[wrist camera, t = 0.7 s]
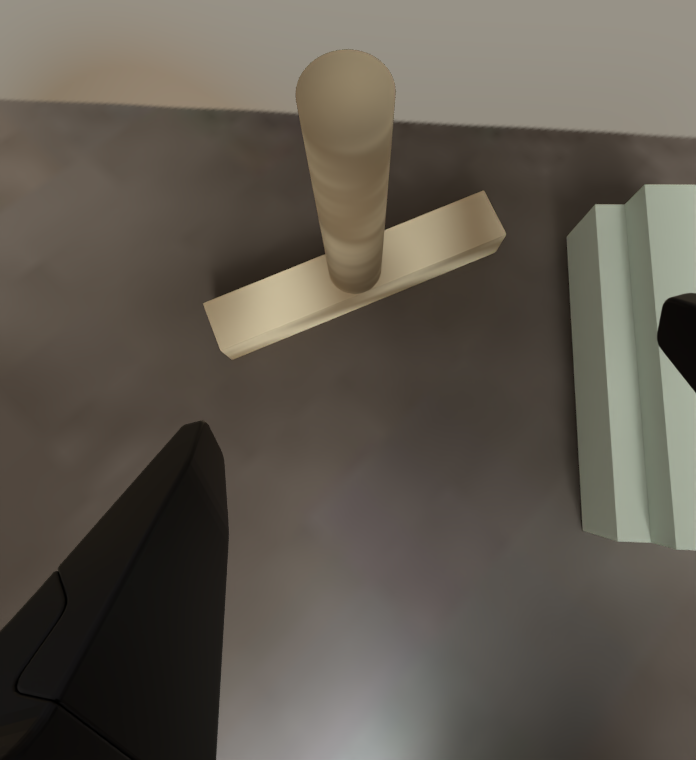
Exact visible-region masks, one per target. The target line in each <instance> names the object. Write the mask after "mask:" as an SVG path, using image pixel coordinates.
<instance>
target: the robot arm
mask: <svg viewBox="0 0 696 760" xmlns="http://www.w3.org/2000/svg"><path fill="white" fill-rule="evenodd" d="M657 342H658V345H659V347H660V348H661V350H662V351H663V352H664V354H665V355H666V356H667V357H668V359H669V360H670V361H671V362H672V364H673V365H674V366H675V368H676V369H677V370H678V371H679V373H680V374H681V375H682V376H683V378H684V379H685V380H686V381H687V383H688V384H689V385H690V386H691V388H692V389H693V390H694V392H695V393H696V293H685V294H681V295H677V296H674V297H670V298H668V299H667V300H665V302H664V303H663V306H662V310H661V315H660V321H659V326H658V331H657ZM228 541H229V526H228V509H227V494H226V480H225V465H224V458H223V454H222V451H221V449H220V447H219V445H218V443H217V441H216V439H215V437H214V435H213V433H212V431H211V429H210V427H209V425H208V424H207V423H206V422H205V421H203V420H202V421H198V422H194V423H190V424H186V425H184V426H182V427H181V428H180V429H179V430H178V432H177V433H176V434H175V435H174V436H173V437H172V438H171V440H170V441H169V442H168V443H167V444H166V445H165V446H164V448H163V449H162V450H161V451H160V452H159V453H158V454H157V455H156V457H155V458H154V459H153V460H152V461H151V462H150V463H149V465H148V466H147V467H146V468H145V469H144V470H143V471H142V473H141V474H140V475H139V476H138V477H137V478H136V479H135V480H134V482H133V483H132V484H131V485H130V486H129V487H128V488H127V490H126V491H125V492H124V493H123V494H122V495H121V496H120V497H119V499H118V500H117V501H116V502H115V503H114V504H113V505H112V507H111V508H110V509H109V510H108V511H107V512H106V513H105V515H104V516H103V517H102V518H101V519H100V520H99V521H98V522H97V524H96V525H95V526H94V527H93V528H92V529H91V530H90V532H89V533H88V534H87V535H86V536H85V537H84V538H83V539H82V541H81V542H80V543H79V544H78V545H77V546H76V547H75V549H74V550H73V551H72V552H71V553H70V554H69V555H68V556H67V558H66V559H65V560H64V561H63V562H62V563H61V564H60V566H59V567H58V571H55V572H53V573H52V575H51V576H50V577H49V578H48V579H47V580H46V581H45V582H44V584H43V585H42V586H41V587H40V588H39V589H38V590H37V592H36V593H35V594H34V595H33V596H32V597H31V598H30V599H29V600H28V601H27V603H26V604H25V605H24V606H23V607H22V608H21V609H20V610H19V611H18V612H17V614H16V615H15V616H14V617H13V618H12V619H11V620H10V621H9V622H8V623H7V624H6V625H5V626H4V627H3V629H2V630H1V631H0V760H216V752H217V734H218V717H219V699H220V682H221V664H222V647H223V630H224V612H225V595H226V577H227V560H228Z"/></svg>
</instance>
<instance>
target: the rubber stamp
mask: <svg viewBox="0 0 696 760" xmlns="http://www.w3.org/2000/svg"><path fill="white" fill-rule="evenodd" d="M395 93H396V90H395V83H394V80H393V77H392V75H391V73H390V72H389V70H388V68H387V67H386V66H385V65H384V64H383V63H382V62H381V61H380V60H379V59H377V58H376V57H374V56H372V55H370V54H368V53H365V52H362V51H358V50H348V49H344V50H336V51H332V52H329V53H326V54H324V55H322V56H320V57H318V58H317V59H315V60H314V61H313V62H311V63H310V64H309V65H308V66H307V67H306V68H305V70H304V71H303V72H302V74H301V76H300V78H299V80H298V83H297V87H296V103H297V108H298V113H299V119H300V124H301V129H302V134H303V140H304V145H305V150H306V155H307V161H308V166H309V171H310V176H311V182H312V187H313V192H314V197H315V202H316V208H317V213H318V218H319V223H320V229H321V234H322V239H323V244H324V250H325V254H324V255H322V256H319V257H317V258H314V259H312V260H310V261H307V262H305V263H302V264H300V265H297V266H295V267H292V268H290V269H287V270H285V271H282V272H280V273H277V274H275V275H272V276H270V277H267V278H265V279H262V280H260V281H257V282H255V283H252V284H250V285H247V286H245V287H242V288H240V289H238V290H235V291H233V292H230V293H228V294H225V295H223V296H220V297H218V298H215V299H213V300H210V301H208V302H205V303H203V305H204V308H205V310H206V313H207V316H208V318H209V321H210V324H211V326H212V329H213V332H214V334H215V337H216V340H217V342H218V345H219V348H220V351H222V352H223V353H224V354H225V355H227V356H228V357H229V358H231V359H232V360H233V359H235V358H238V357H240V356H243V355H245V354H248V353H250V352H253V351H255V350H258V349H260V348H262V347H265V346H267V345H270V344H272V343H275V342H277V341H280V340H282V339H285V338H287V337H289V336H292V335H294V334H297V333H299V332H302V331H304V330H307V329H309V328H311V327H314V326H316V325H319V324H321V323H324V322H326V321H329V320H331V319H334V318H336V317H338V316H341V315H343V314H346V313H348V312H351V311H353V310H356V309H358V308H361V307H363V306H365V305H368V304H370V303H373V302H375V301H378V300H380V299H383V298H385V297H388V296H390V295H392V294H395V293H397V292H400V291H402V290H405V289H407V288H410V287H412V286H415V285H417V284H419V283H422V282H424V281H427V280H429V279H432V278H434V277H437V276H439V275H441V274H444V273H446V272H449V271H451V270H454V269H456V268H459V267H461V266H464V265H466V264H468V263H471V262H473V261H476V260H478V259H481V258H483V257H486V256H488V255H491V254H493V253H495V252H496V251H497V249H498V247H499V246H500V244H501V243H502V241H503V239H504V238H505V236H506V232H505V230H504V228H503V226H502V225H501V223H500V221H499V219H498V217H497V215H496V213H495V211H494V209H493V207H492V205H491V203H490V201H489V199H488V197H487V195H486V193H485V191H484V190H483V191H481V192H478V193H476V194H473V195H471V196H468V197H466V198H463V199H461V200H459V201H456V202H454V203H451V204H449V205H446V206H444V207H441V208H439V209H436V210H434V211H431V212H429V213H426V214H424V215H421V216H419V217H416V218H414V219H411V220H409V221H406V222H404V223H401V224H399V225H396V226H394V227H391V228H389V229H387V230H385V218H386V205H387V193H388V181H389V168H390V156H391V144H392V131H393V119H394V107H395Z"/></svg>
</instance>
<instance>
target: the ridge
mask: <svg viewBox="0 0 696 760" xmlns="http://www.w3.org/2000/svg"><path fill="white" fill-rule="evenodd" d="M567 255H568V273H569V291H570V310H571V328H572V346H573V364H574V382H575V400H576V418H577V436H578V455H579V473H580V491H581V509H582V527H583V531H585V532H588V533H592V534H595V535H598V536H601V537H605V538H608V539H611V540H614V541H618V542H647V543H654V544H658V545H662V546H665V547H669V548H673V549H676V550H696V393H695V392H694V390H693V389H692V388H691V386H690V385H689V384H688V383H687V381H686V380H685V379H684V378H683V376H682V375H681V374H680V373H679V371H678V370H677V369H676V368H675V366H674V365H673V364H672V362H671V361H670V360H669V359H668V357H667V356H666V355H665V354H664V352H663V351H662V350H661V348H660V347H659V345H658V342H657V331H658V326H659V321H660V315H661V310H662V306H663V303H664V302H665V300H667V299H668V298H670V297H674V296H677V295H681V294H685V293H696V185H650V184H645V185H644V186H643V187H642V188H641V189H640V190H639V191H638V192H637V193H636V194H635V195H634V196H633V197H632V198H631V199H630V200H629V201H628V202H627V203H626V204H595V205H594V206H593V207H592V208H591V210H590V211H589V212H588V213H587V214H586V215H585V216H584V218H583V219H582V220H581V221H580V222H579V223H578V224H577V225H576V227H575V228H574V229H573V230H572V231H571V232H570V233H569V235H568V236H567Z"/></svg>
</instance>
